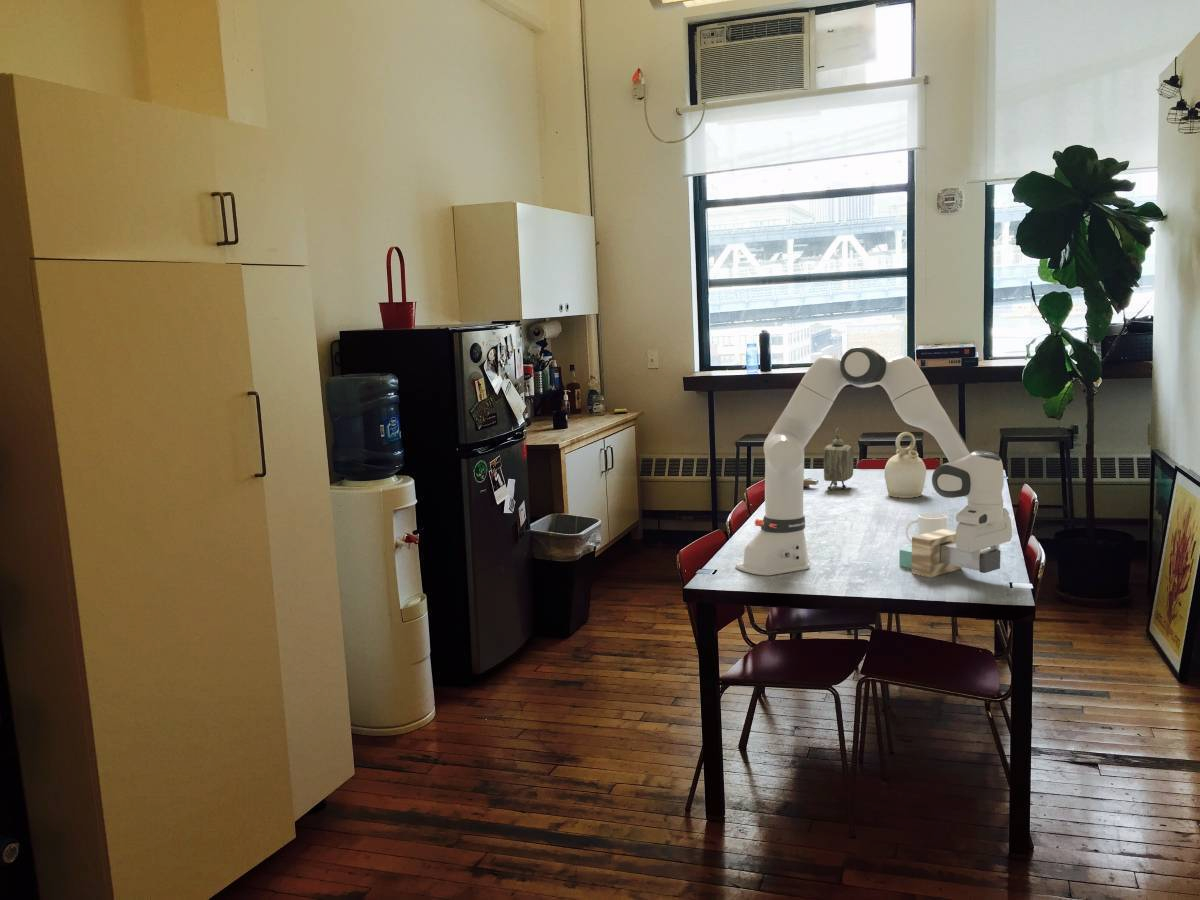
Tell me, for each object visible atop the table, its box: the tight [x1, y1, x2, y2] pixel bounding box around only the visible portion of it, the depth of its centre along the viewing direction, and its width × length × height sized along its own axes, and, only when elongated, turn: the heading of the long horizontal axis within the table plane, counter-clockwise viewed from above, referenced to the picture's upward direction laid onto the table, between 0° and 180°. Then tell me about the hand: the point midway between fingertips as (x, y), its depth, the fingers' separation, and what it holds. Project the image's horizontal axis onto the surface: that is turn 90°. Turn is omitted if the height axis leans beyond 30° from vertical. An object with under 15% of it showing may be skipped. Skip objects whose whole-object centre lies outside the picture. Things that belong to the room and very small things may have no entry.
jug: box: [883, 431, 927, 499], centre depth 384 cm, size 15×16×25 cm
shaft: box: [940, 541, 1001, 574], centre depth 271 cm, size 7×20×5 cm, turn 35°
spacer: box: [898, 545, 912, 569], centre depth 284 cm, size 6×5×6 cm
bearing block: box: [911, 528, 962, 579], centre depth 277 cm, size 14×6×10 cm, turn 125°
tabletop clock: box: [823, 427, 854, 491], centre depth 404 cm, size 14×9×25 cm, turn 154°
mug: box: [905, 512, 948, 544], centre depth 295 cm, size 12×8×12 cm
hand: (984, 563), depth 265 cm, fingers closed on shaft, 5 cm apart
